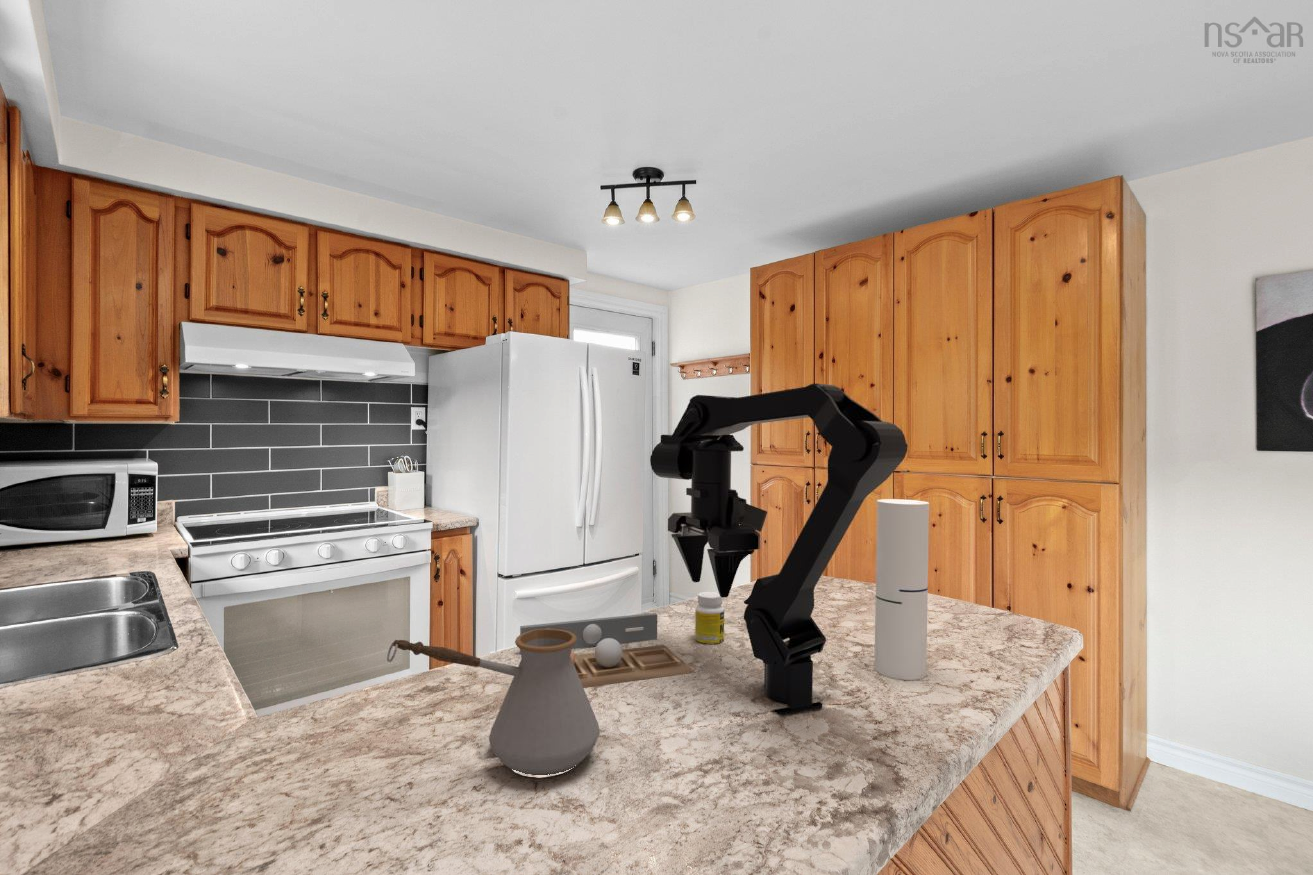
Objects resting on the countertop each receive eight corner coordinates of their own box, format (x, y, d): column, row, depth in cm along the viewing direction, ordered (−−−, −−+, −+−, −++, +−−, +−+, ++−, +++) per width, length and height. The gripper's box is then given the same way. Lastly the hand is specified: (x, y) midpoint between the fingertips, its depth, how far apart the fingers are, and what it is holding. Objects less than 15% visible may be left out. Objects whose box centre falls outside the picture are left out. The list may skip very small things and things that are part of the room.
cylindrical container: (931, 682, 89) (934, 505, 88) (878, 677, 90) (881, 503, 90) (920, 663, 96) (923, 500, 95) (871, 659, 97) (874, 498, 97)
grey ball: (626, 669, 89) (626, 641, 89) (598, 673, 87) (599, 644, 87) (617, 660, 93) (617, 633, 93) (591, 663, 91) (591, 636, 91)
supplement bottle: (725, 651, 100) (725, 598, 100) (695, 650, 100) (696, 597, 100) (722, 641, 105) (723, 590, 105) (694, 640, 105) (695, 590, 105)
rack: (695, 679, 88) (695, 667, 88) (539, 701, 80) (539, 688, 80) (663, 651, 100) (664, 641, 100) (524, 668, 92) (524, 657, 92)
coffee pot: (573, 724, 74) (575, 598, 74) (617, 770, 64) (619, 624, 64) (378, 771, 63) (379, 624, 63) (394, 835, 54) (396, 660, 53)
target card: (657, 645, 102) (658, 614, 102) (521, 661, 94) (521, 628, 94) (654, 643, 103) (655, 612, 103) (519, 658, 95) (520, 626, 95)
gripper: (794, 486, 85) (792, 600, 85) (730, 476, 103) (728, 571, 103) (721, 488, 81) (719, 608, 81) (667, 477, 99) (665, 576, 99)
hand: (709, 589), depth 91 cm, fingers open, 9 cm apart
